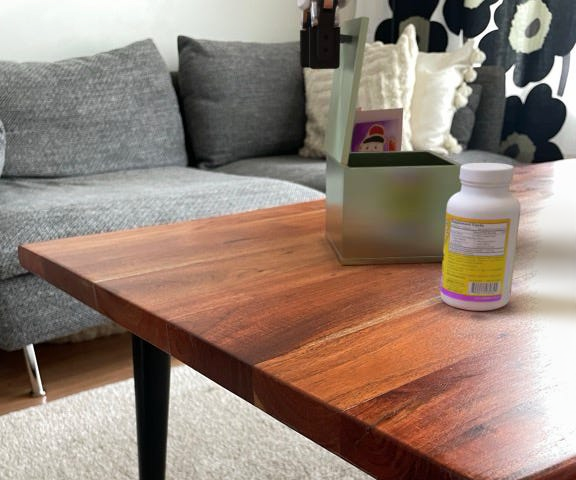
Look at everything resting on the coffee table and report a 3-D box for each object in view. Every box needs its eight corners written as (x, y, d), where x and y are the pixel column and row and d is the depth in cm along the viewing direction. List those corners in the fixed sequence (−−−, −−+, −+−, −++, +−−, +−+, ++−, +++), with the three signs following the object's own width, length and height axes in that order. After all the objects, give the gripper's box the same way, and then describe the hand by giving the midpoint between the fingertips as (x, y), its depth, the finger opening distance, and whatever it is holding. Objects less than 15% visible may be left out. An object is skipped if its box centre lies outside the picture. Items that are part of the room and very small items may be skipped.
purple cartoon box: (347, 223, 103) (350, 112, 97) (313, 216, 108) (314, 109, 102) (402, 213, 110) (407, 108, 103) (367, 206, 115) (370, 105, 109)
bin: (425, 233, 97) (431, 150, 92) (457, 261, 84) (466, 166, 79) (325, 236, 96) (326, 152, 92) (341, 265, 83) (343, 168, 78)
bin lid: (346, 23, 86) (308, 17, 85) (369, 17, 72) (324, 11, 72) (329, 148, 91) (293, 144, 91) (347, 164, 78) (305, 159, 78)
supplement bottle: (464, 287, 75) (477, 158, 69) (522, 301, 70) (540, 165, 65) (425, 301, 70) (435, 166, 65) (484, 317, 66) (499, 173, 61)
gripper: (371, -135, 66) (365, 69, 73) (343, -98, 82) (340, 66, 89) (290, -135, 65) (292, 70, 73) (277, -99, 81) (279, 67, 88)
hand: (318, 68), depth 81 cm, fingers open, 9 cm apart
